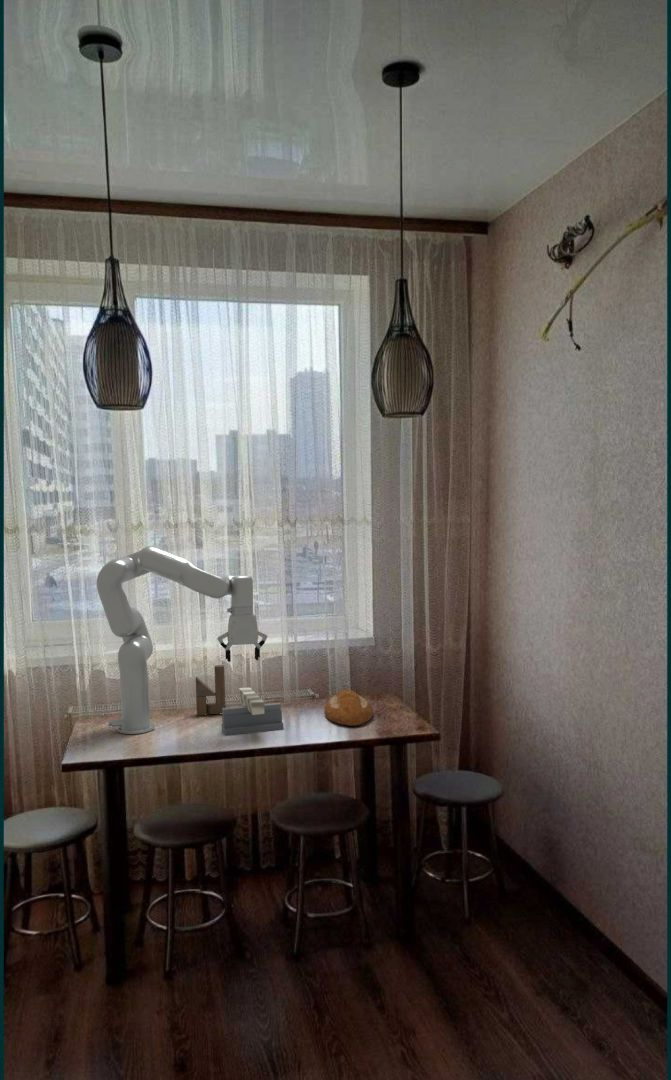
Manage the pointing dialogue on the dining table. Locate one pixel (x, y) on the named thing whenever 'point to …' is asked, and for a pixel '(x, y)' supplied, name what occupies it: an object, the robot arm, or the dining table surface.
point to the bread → (348, 708)
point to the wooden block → (211, 694)
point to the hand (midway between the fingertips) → (242, 660)
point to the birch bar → (251, 701)
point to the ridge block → (251, 719)
